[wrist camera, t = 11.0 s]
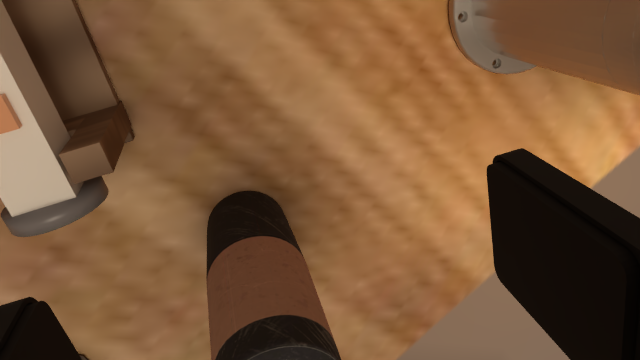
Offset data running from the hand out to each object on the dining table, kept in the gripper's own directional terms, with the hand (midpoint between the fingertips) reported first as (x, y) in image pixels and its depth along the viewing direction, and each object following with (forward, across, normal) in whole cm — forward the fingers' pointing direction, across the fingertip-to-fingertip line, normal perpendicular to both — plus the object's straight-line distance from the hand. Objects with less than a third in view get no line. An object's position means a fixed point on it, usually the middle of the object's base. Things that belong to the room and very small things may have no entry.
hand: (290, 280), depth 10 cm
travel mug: (+31, +4, +16) cm, 35 cm away
